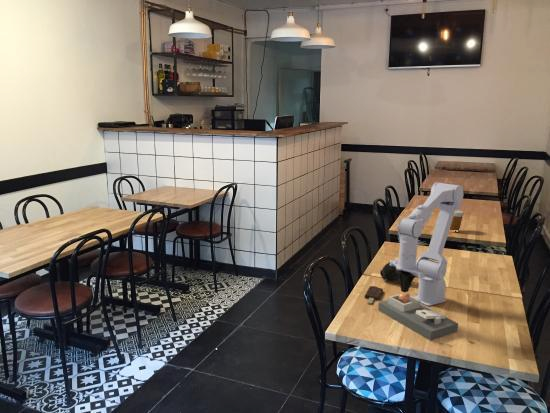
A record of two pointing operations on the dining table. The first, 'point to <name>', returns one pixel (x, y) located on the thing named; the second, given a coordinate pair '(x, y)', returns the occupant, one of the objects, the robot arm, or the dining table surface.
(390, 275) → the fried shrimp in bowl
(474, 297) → the dining table surface
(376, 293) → the ice cream bar
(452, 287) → the dining table surface
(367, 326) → the dining table surface
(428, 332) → the grey board with tray
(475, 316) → the dining table surface
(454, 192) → the robot arm
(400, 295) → the button
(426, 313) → the rocker switch
